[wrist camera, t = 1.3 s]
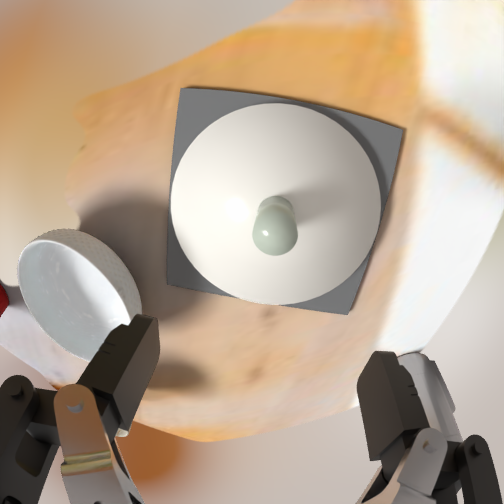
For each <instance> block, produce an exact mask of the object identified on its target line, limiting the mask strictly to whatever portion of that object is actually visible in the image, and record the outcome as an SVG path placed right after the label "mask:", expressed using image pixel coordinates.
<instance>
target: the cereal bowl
mask: <svg viewBox="0 0 504 504" xmlns="http://www.w3.org/2000/svg"><path fill="white" fill-rule="evenodd" d="M17 274H18V282H19V286H20V290H21V293H22V296H23V299H24V301H25V303H26V305H27V307H28V309H29V311H30V313H31V315H32V316H33V318H34V319H35V321H36V322H37V323H38V325H39V326H40V327H41V328H42V330H43V331H44V332H45V333H46V334H47V335H48V336H49V337H50V338H51V339H52V340H53V341H54V342H55V343H57V344H58V345H59V346H60V347H62V348H63V349H65V350H66V351H67V352H69V353H71V354H72V355H74V356H76V357H78V358H81V359H83V360H86V361H89V362H90V361H91V360H92V358H93V357H94V355H95V354H96V352H97V351H98V350H99V348H100V346H101V345H102V343H104V340H105V339H106V337H107V336H108V334H109V333H110V331H111V330H113V329H114V328H116V327H117V326H119V325H120V324H125V325H129V323H130V322H131V320H132V319H133V317H134V316H135V315H136V314H142V303H141V299H140V294H139V292H138V288H137V286H136V283H135V281H134V279H133V277H132V275H131V274H130V272H129V270H128V268H127V267H126V266H125V265H124V263H123V261H121V259H120V258H119V257H118V256H117V255H116V254H115V252H113V250H112V249H110V248H109V247H108V246H107V245H106V244H104V243H103V242H101V241H100V240H99V239H97V238H95V237H93V236H91V235H89V234H87V233H84V232H81V231H77V230H74V229H57V230H53V231H49V232H47V233H44V234H42V235H41V236H38V237H37V238H36V239H34V240H33V241H31V242H30V243H28V244H27V245H26V246H25V248H24V249H23V251H22V252H21V254H20V257H19V260H18V268H17Z"/></svg>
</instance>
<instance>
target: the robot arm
mask: <svg viewBox="0 0 504 504" xmlns="http://www.w3.org/2000/svg"><path fill="white" fill-rule="evenodd" d="M159 355H160V341H159V329H158V320H157V318H154V317H150V316H146V315H142V314H136V315H135V316H134V317H133V319H132V320H131V322H130V323H129V325H125V324H120V325H119V326H117V327H116V328H114V329H113V330H111V331H110V333H109V334H108V336H107V337H106V339H105V340H104V343H102V345H101V346H100V348H99V350H98V351H97V352H96V354H95V355H94V357H93V358H92V360H91V361H90V363H89V364H88V366H87V367H86V369H85V371H84V372H83V374H82V375H81V377H80V379H79V380H78V381H77V383H76V384H70V385H66V386H64V387H62V388H61V389H60V390H59V391H52V390H45V389H39V388H34V386H33V385H32V383H31V381H30V380H29V379H28V378H26V377H24V376H21V375H14V376H11V377H9V378H8V379H6V380H5V381H4V383H3V384H2V385H1V387H0V504H38V501H39V498H40V495H41V492H42V489H43V486H44V484H45V481H46V478H47V476H48V473H49V470H50V467H51V465H52V462H53V460H54V457H55V455H56V453H57V450H58V448H59V446H61V447H62V452H63V456H64V463H62V464H61V474H62V478H63V481H64V484H65V488H66V491H67V494H68V497H69V500H70V503H71V504H145V503H144V501H143V499H142V498H141V495H140V494H139V492H138V490H137V488H136V487H135V485H134V483H133V481H132V479H131V477H130V475H129V472H128V470H127V467H126V465H125V463H124V460H123V458H122V455H121V452H120V450H119V447H118V444H117V442H116V439H115V435H116V433H117V431H118V428H120V429H123V430H125V431H129V428H130V426H131V423H132V421H133V418H134V416H135V414H136V411H137V409H138V406H139V404H140V402H141V399H142V397H143V395H144V392H145V390H146V388H147V385H148V383H149V381H150V378H151V376H152V374H153V372H154V369H155V367H156V365H157V362H158V359H159ZM357 394H358V398H359V403H360V408H361V413H362V418H363V423H364V429H365V434H366V439H367V445H368V451H369V458H370V461H376V460H381V463H382V465H381V466H380V467H379V468H378V470H377V471H376V473H375V475H374V476H373V478H372V480H371V482H370V483H369V484H368V486H367V488H366V489H365V491H364V492H363V494H362V495H361V497H360V498H359V499H358V501H357V503H356V504H458V501H457V495H456V494H457V492H458V491H459V490H460V489H461V487H462V492H463V497H464V504H503V503H502V498H501V493H500V489H499V484H498V479H497V475H496V471H495V468H494V464H493V460H492V457H491V454H490V450H489V447H488V444H487V442H486V441H485V439H484V438H482V437H481V436H479V435H471V436H469V437H468V438H467V439H466V440H465V441H463V440H462V437H461V435H460V432H459V429H458V426H457V424H456V421H455V418H454V416H453V412H454V411H455V405H454V403H453V400H452V398H451V396H450V393H449V391H448V389H447V387H446V384H445V382H444V380H443V378H442V376H441V373H440V372H439V370H438V368H437V365H436V363H435V361H430V360H429V359H428V357H427V356H426V355H424V354H421V353H411V354H406V355H403V356H400V357H398V358H397V356H396V354H395V353H394V352H388V351H375V352H374V353H373V354H372V355H371V357H370V359H369V361H368V363H367V364H366V366H365V368H364V369H363V371H362V373H361V374H360V376H359V378H358V382H357Z"/></svg>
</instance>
